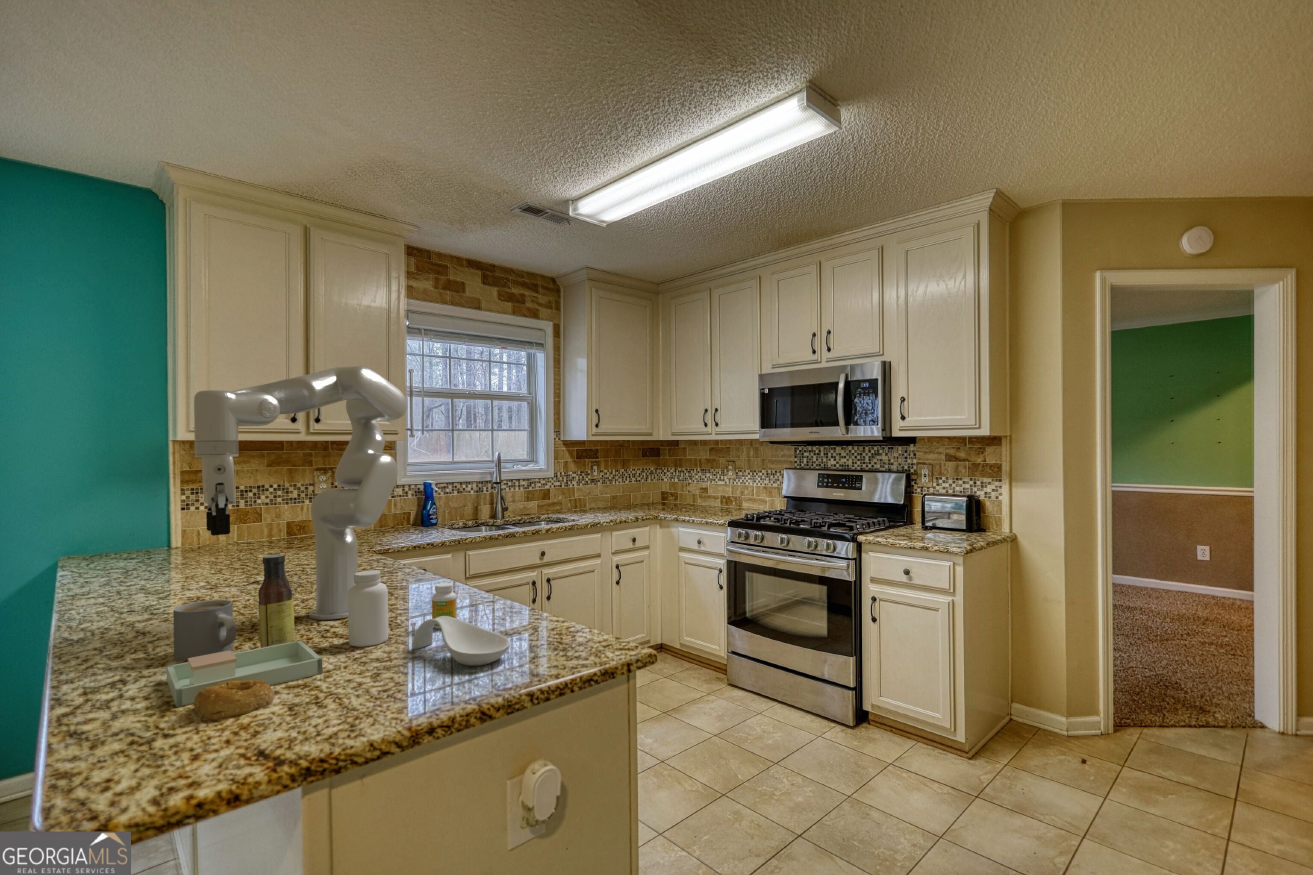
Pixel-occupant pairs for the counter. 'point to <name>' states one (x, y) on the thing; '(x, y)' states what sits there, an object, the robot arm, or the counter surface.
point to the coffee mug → (203, 628)
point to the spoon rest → (463, 640)
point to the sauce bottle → (275, 604)
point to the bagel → (232, 698)
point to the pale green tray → (252, 669)
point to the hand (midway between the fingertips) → (218, 532)
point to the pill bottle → (367, 610)
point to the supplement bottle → (443, 602)
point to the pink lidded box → (211, 667)
